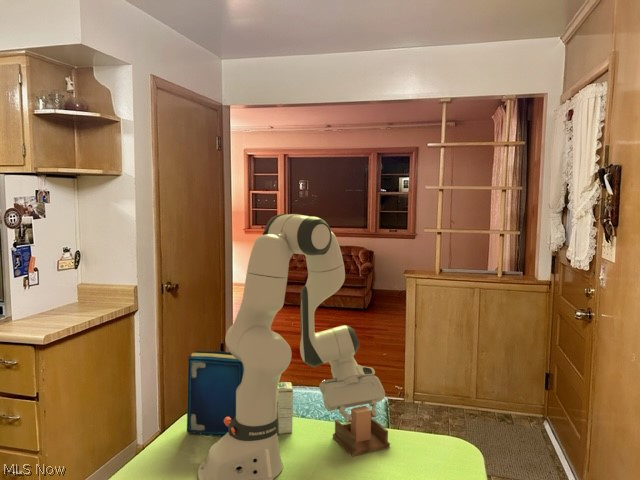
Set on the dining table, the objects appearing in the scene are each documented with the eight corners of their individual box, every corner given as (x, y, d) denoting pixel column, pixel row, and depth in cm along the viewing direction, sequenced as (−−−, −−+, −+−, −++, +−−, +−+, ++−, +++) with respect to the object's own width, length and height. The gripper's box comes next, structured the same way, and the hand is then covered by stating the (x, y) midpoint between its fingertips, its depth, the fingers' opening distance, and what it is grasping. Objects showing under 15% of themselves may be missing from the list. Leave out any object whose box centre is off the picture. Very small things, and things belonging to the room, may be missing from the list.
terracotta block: (356, 442, 134) (356, 413, 133) (350, 437, 137) (351, 408, 136) (370, 439, 136) (371, 410, 135) (364, 434, 139) (365, 405, 139)
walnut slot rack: (351, 456, 128) (351, 438, 128) (332, 437, 139) (333, 420, 139) (389, 447, 134) (389, 430, 133) (369, 429, 145) (369, 413, 144)
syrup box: (273, 426, 146) (273, 382, 146) (291, 424, 148) (291, 381, 147) (274, 434, 141) (274, 389, 140) (293, 432, 142) (293, 388, 141)
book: (259, 428, 145) (259, 352, 143) (253, 439, 138) (253, 359, 136) (194, 424, 147) (193, 349, 146) (185, 435, 140) (185, 356, 138)
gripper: (320, 376, 137) (334, 421, 129) (378, 367, 146) (394, 409, 137) (314, 385, 142) (327, 429, 133) (370, 376, 150) (386, 417, 142)
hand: (362, 419), depth 136 cm, fingers open, 7 cm apart
